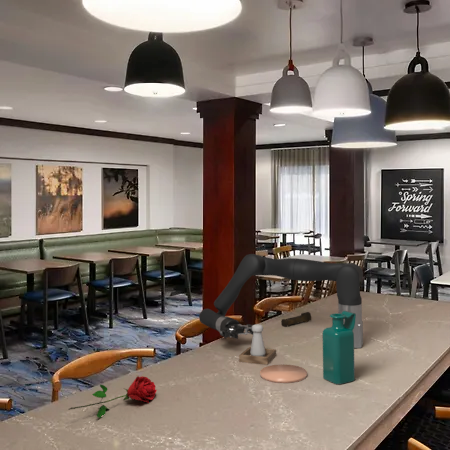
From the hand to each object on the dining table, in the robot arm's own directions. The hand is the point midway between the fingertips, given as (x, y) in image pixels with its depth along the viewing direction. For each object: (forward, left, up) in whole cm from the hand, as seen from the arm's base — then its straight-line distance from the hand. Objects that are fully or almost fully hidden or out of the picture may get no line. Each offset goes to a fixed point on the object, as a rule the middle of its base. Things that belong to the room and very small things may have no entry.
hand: (246, 334), depth 203 cm
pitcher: (-39, +17, -8) cm, 44 cm away
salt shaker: (-6, +5, -8) cm, 11 cm away
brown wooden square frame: (-6, +5, -7) cm, 11 cm away
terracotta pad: (-20, +19, -7) cm, 29 cm away
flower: (+17, +63, -8) cm, 66 cm away
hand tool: (-6, -53, -8) cm, 54 cm away
